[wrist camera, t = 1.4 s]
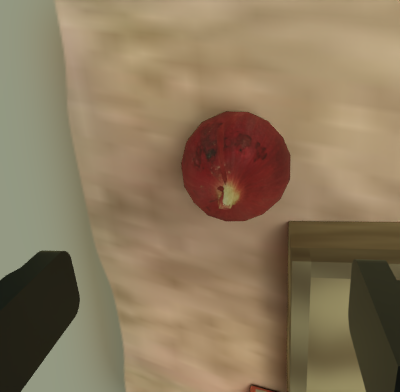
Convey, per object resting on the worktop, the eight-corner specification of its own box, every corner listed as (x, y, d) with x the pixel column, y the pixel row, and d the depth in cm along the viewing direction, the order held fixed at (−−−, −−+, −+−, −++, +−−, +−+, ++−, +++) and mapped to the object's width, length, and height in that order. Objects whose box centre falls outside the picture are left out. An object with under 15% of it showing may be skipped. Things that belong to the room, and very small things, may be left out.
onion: (179, 126, 24) (139, 163, 17) (264, 85, 22) (261, 106, 15) (219, 204, 25) (198, 269, 18) (302, 172, 24) (315, 229, 16)
